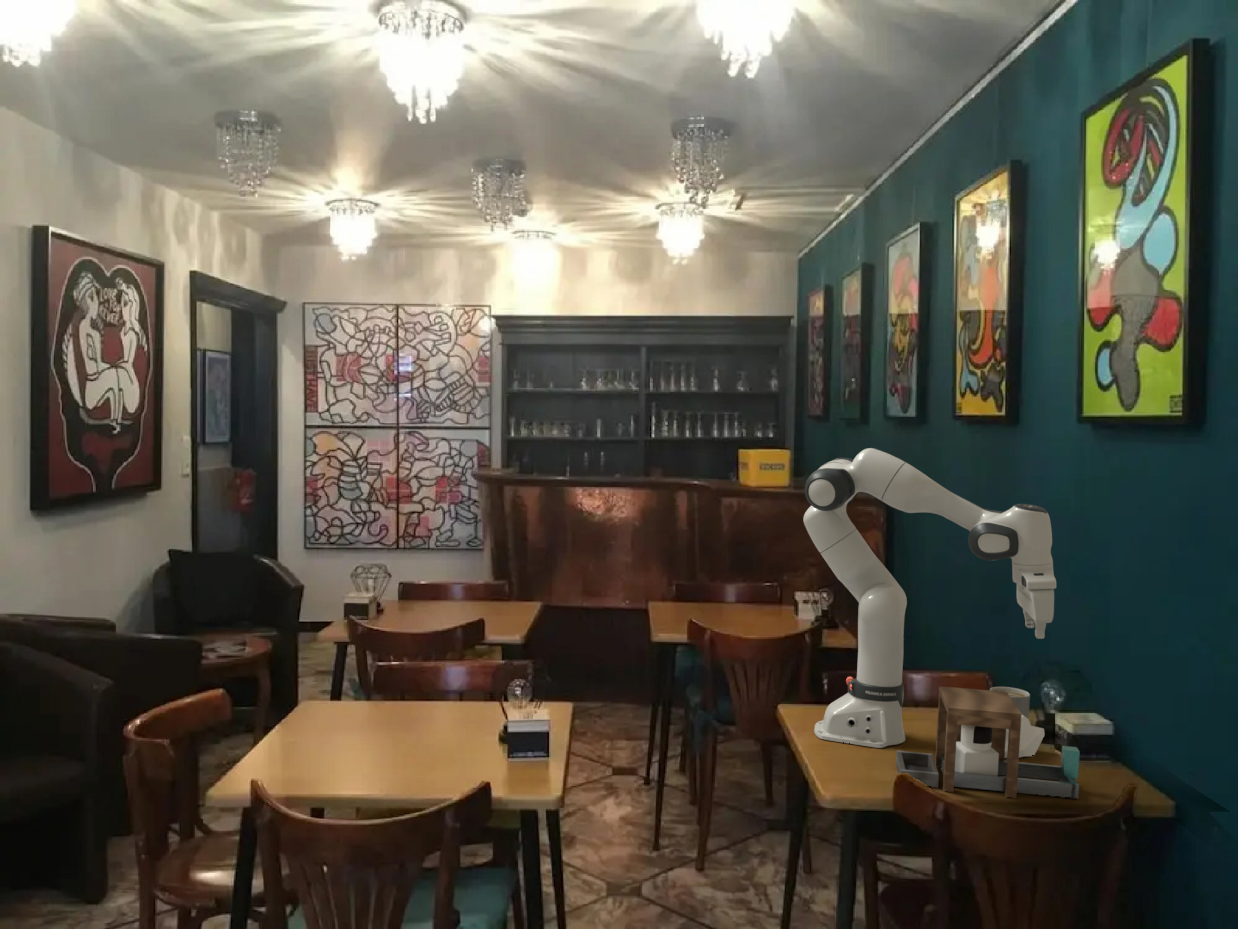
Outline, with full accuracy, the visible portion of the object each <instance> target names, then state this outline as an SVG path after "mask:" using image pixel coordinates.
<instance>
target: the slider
mask: <svg viewBox="0 0 1238 929" xmlns="http://www.w3.org/2000/svg"><path fill="white" fill-rule="evenodd" d="M1080 752H1081V751H1080V750H1079V748H1078V747H1077V746H1067V745H1062V746H1061V755H1060V756H1061V758H1060V765H1053V764H1052V765H1051V764H1041V763H1032V762H1031V763H1030V762H1021V761H1019V762H1018V779H1017V794H1028V795H1035V794H1038V795H1039V796H1045V795H1050V796H1049V797H1055V796H1060V797H1059V798H1065V797H1070V798H1069V799H1075V798H1077V799H1079V795H1080V784H1079V783H1078V781H1077V779H1079V771H1080V770H1079V768H1080V767H1079V766H1080V756H1081V755H1080ZM944 757H945V755H941V767H940V770H941V772H942V775H944ZM1006 768H1007V760H1004V761H1002V760H998V776H996V775H985V774H975V773H965V772H955V773H954V787H958V788H965V789H966V788H968V789H977V790H986V791H997V792H1005V784H1006Z"/></svg>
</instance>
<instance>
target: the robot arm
mask: <svg viewBox="0 0 1238 929" xmlns="http://www.w3.org/2000/svg"><path fill="white" fill-rule="evenodd" d="M859 493H867V494H869V495H871V496H873V497H874V498H876V499H878V500H879V501H881V502H883V503H885V504H886V505H888V506H889V507H891V508H893V509H896V510H898V511H902V512H904V513H908V514H914V513H915V514H916V513H917V514H918V513H930V514H936V515H938V516H941V517H944V518H945V519H947V520H949V521H951V522H953V523H955V524H956V525H958V526H959V527H962V528H964V529H966V530H968V531H969V534H968V537H967V542H968V547H969V549H970V551H971V553H972V554H974V556H976V558H978V559H980V560H983V561H991V562H992V561H993V562H994V561H998V560H1005V559H1011V565H1012V566H1011V567H1012V568H1011V571H1012V582H1013V583H1015V584H1016V602H1017V604H1018V605H1019V606H1020V607H1021V608H1022V612H1023V616H1024V617H1023V618H1024V621H1025V622H1024V623H1025V627H1026V628H1027V629H1034V628H1035V629H1034V636H1035V638H1036V639H1038V640H1039V639H1040V640H1041V639H1044V638H1045V637H1046V635H1045V631H1046V627H1047V624H1050V623H1052V622H1053V620H1054V614H1055V589H1057V580H1056V577H1055V574H1054V560H1053V559H1054V558H1053V557H1052V551H1051V550H1052V546H1053V533H1052V532H1053V531H1052V524H1051V518H1050V515H1049V513H1048V511H1047V510H1046V509H1045V508H1044V507H1042V506H1039V505H1035V504H1030V503H1016V504H1014V505H1013V506H1012V507H1010V508H1009V509H1007V510H1005V511H1003V510H1002V511H1000V510H994V509H992V510H991V509H989V508H984V507H981V506H980V505H978V504H975V503H974V502H972V501H970V500H968V499H966V498H964V497H963V496H960V495H958V494H956V493H955V492H953V491H951V490H949V489H948V488H945V487H944V486H942V485H941V484H939V483H938V482H937V481H935V480H934V479H932V478H930V477H929V476H928V475H927V474H925V473H923V472H922V471H921V470H918V468H916V467H914V466H913V465H911V464H909V463H908V462H906V461H904V460H902V459H901V458H899V457H896V456H894V455H892V454H890V453H888V452H885V451H882V450H879V449H877V448H873V447H870V448H867V447H866V448H864V449H863V450H861V451H860V452H858V454H856V456H855V457H854V458H853V459H852V458H848V457H837V458H834V459H832V460H831V461H828V462H826V463H823V465H820V467H819V468H818V469H817V470H815V471H813V472H812V473H811V474H810V475H809V476H808V478H807V479H806V482H805V485H804V494H805V498H806V500H807V502H808V504H810V506H809V507H808V508H807V510H806V511H805V513H804V514H803V518H802V519H803V525H804V527H805V529H806V531H807V534H808V535H809V537H810V539H811V541H812V543H813V544H814V546H815V548H816V549H817V551H818V553H820V555H821V556H822V558H823V559H824V561H825V562H826V564H827V566H828V567H829V568H830V569H831V571H832V572H833V574H834V575H835V577H836V578H837V579H838V581H840V583H841V584H842V585H843V586H844V587H845V588H846V589H847V590H848V591H849V592H850V594H851V595H852V596H853V597H854V598H855V600H856V601H857V603H858V607H857V608H858V609H857V610H858V612H857V613H858V615H857V641H858V642H857V645H858V646H857V647H858V648H857V651H858V652H857V664H856V666H857V667H856V668H857V669H856V671H857V672H856V677H855V678H854V677H852V676H847V678H846V680H845V682H846V685H847V693H845V694H844V695H842V696H840V697H839V698H837V699H835V700H834V701H832V702H831V703H830V704H828V706H827V707H826V709H825V711H824V715H823V719H822V720H819V721H817V722H816V723H815V724H814V729H813V732H814V735H815V736H816V737H817V738H819V739H820V740H825V741H831V742H837V743H843V742H844V744H849V743H850V744H851V745H857V746H864V747H871V748H877V749H882V748H886V747H888V746H893V745H894V746H895V745H900V744H903V743H904V742H905V741H906V735H905V731H904V725H903V716H902V715H903V714H902V707H903V703H904V691H905V690H904V689H905V687H904V684H903V665H904V642H905V641H904V640H905V638H904V636H905V634H904V631H905V614H906V608H907V606H908V605H907V604H908V600H907V596H906V592H905V591H904V589H903V588H902V587H901V585H900V584H899V583H898V581H897V580H896V578H894V576H893V575H892V573H891V572H890V571H889V570H888V568H886V566H885V565H884V564H883V562H882V561H881V560H880V559H879V558H878V557H877V556H876V554H875V553H874V551H872V549H871V547H870V546H869V545H868V543H867V541H866V540H865V539H864V537H863V536H862V535H861V533H860V532H859V530H858V529H857V528H856V526H855V525H854V523H853V522H852V521H851V519H850V518H849V516H848V513H847V506H850V505H851V504H852V502H853V501H854V499H855V498H856V497H857V496H858V495H859Z"/></svg>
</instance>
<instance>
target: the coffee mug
mask: <svg viewBox="0 0 1238 929" xmlns="http://www.w3.org/2000/svg"><path fill="white" fill-rule="evenodd" d="M989 690H990V691H1002V692H1007V693H1008V695H1009V696H1010V698H1011V699H1012V701H1013V702H1014V704H1015V705H1016V707H1017V708H1018V710H1019V711H1020V713H1021V715H1023V716H1025V717H1026V718H1027V719H1029V720H1030V703H1031V702H1030V701H1031V694H1030V693H1029V692H1028V691H1026V690H1024V689H1021V688H1016V687H1009V686H993V687H990V689H989Z"/></svg>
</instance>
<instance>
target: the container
mask: <svg viewBox="0 0 1238 929" xmlns="http://www.w3.org/2000/svg"><path fill="white" fill-rule="evenodd" d="M991 743H992V728H991V727H980V726H969V725H962V727H961V742H956V755H955V772H965V773H975V774H985V775H996V776H999V775H998V760H999V753H998V752H996V751H995V750H994V749H993V748H992V747H991Z"/></svg>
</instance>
